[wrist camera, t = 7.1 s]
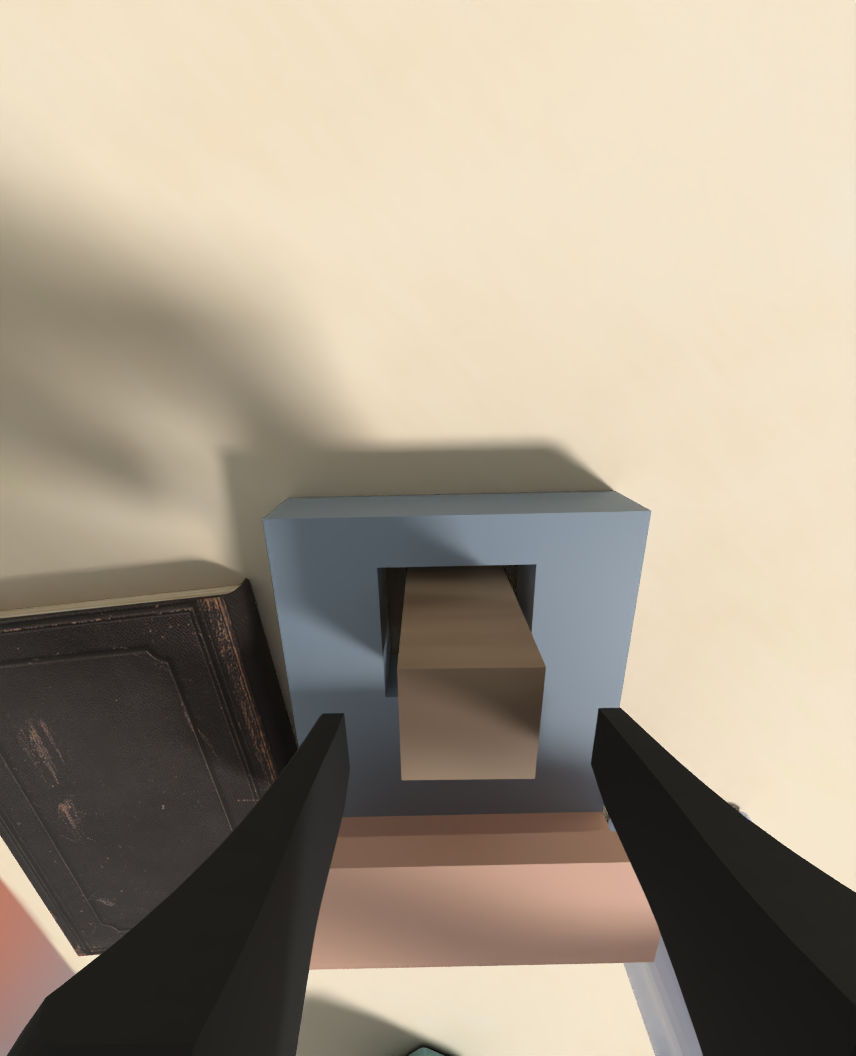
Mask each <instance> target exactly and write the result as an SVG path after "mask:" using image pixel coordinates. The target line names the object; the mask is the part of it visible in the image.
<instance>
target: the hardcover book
mask: <svg viewBox="0 0 856 1056" xmlns="http://www.w3.org/2000/svg"><path fill="white" fill-rule="evenodd" d="M296 751H297V746H296V743H295V739H294V736H293V732H292V729H291V725H290V722H289V718H288V715H287V711H286V708H285V704H284V700H283V697H282V693H281V690H280V686H279V683H278V679H277V676H276V672H275V669H274V665H273V662H272V658H271V655H270V651H269V648H268V644H267V641H266V637H265V634H264V630H263V627H262V623H261V620H260V616H259V612H258V609H257V605H256V602H255V598H254V595H253V591H252V588H251V584H250V581H249V579H245V580H244V581H243V583H242V584H241V585H234V586H224V587H215V588H206V589H197V590H187V591H178V592H169V593H160V594H150V595H141V596H132V597H123V598H113V599H104V600H95V601H86V602H77V603H67V604H58V605H49V606H40V607H31V608H21V609H12V610H3V611H0V836H1V837H2V839H3V840H4V842H5V843H6V845H7V846H8V848H9V850H10V851H11V853H12V854H13V856H14V857H15V859H16V860H17V862H18V863H19V865H20V867H21V868H22V870H23V871H24V873H25V874H26V876H27V877H28V879H29V880H30V882H31V884H32V885H33V887H34V888H35V890H36V891H37V893H38V894H39V896H40V897H41V899H42V901H43V902H44V904H45V905H46V907H47V908H48V910H49V911H50V913H51V914H52V916H53V918H54V919H55V921H56V922H57V924H58V925H59V927H60V928H61V930H62V931H63V933H64V935H65V936H66V938H67V939H68V941H69V942H70V944H71V945H72V947H73V948H74V950H75V952H76V953H77V955H78V956H87V955H99V954H102V953H103V952H104V951H106V950H107V949H108V948H109V947H111V946H112V945H113V944H114V943H115V942H117V941H118V940H119V939H120V938H121V937H123V936H124V935H125V934H126V933H127V932H128V931H130V930H131V929H132V928H133V927H134V926H135V925H136V924H137V923H139V922H140V921H141V920H142V919H143V918H144V917H145V916H146V915H148V914H149V913H150V912H151V911H152V910H153V909H154V908H155V907H157V906H158V905H159V904H160V903H161V902H162V901H163V900H164V899H166V898H167V897H168V896H169V895H170V894H171V893H172V892H173V891H174V890H175V889H176V888H177V887H178V886H180V885H181V884H182V883H183V882H184V881H185V880H186V879H187V878H188V877H189V876H190V875H191V874H192V873H193V872H194V871H195V870H196V869H197V868H198V867H199V866H200V865H201V864H202V863H203V862H204V861H205V860H206V859H207V858H208V857H209V856H210V855H211V854H212V853H213V852H214V851H215V850H216V849H217V848H218V846H219V845H220V844H221V843H222V842H223V841H224V840H225V839H226V838H227V837H228V836H229V835H230V834H231V832H232V831H233V830H234V829H235V828H236V827H237V826H238V825H239V823H240V822H241V821H242V820H243V819H244V818H245V817H246V815H247V814H248V813H249V812H250V811H251V809H252V808H253V807H254V806H255V805H256V803H257V802H258V801H259V800H260V798H261V797H262V796H263V795H264V793H265V792H266V791H267V790H268V789H269V787H270V786H271V785H272V784H273V782H274V781H275V780H276V778H277V777H278V776H279V774H280V773H281V772H282V770H283V769H284V768H285V766H286V765H287V763H288V762H289V761H290V759H291V758H292V757H293V755H294V754H295V752H296Z"/></svg>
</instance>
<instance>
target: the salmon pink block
mask: <svg viewBox="0 0 856 1056" xmlns="http://www.w3.org/2000/svg"><path fill="white" fill-rule="evenodd" d="M660 937H661V934H660V931H659V928H658V925H657V923H656V920H655V918H654V915H653V913H652V910H651V908H650V906H649V903H648V901H647V898H646V896H645V894H644V892H643V890H642V887H641V885H640V883H639V881H638V879H637V876H636V874H635V872H634V870H633V868H632V865H631V863H630V861H629V859H628V857H627V854H626V852H625V850H624V848H623V845H622V843H621V841H620V839H619V837H618V834H617V832H616V831H610V829H609V826H608V824H607V821H606V819H605V817H604V814H603V812H564V813H518V814H472V815H425V816H379V817H342V821H341V825H340V829H339V833H338V837H337V841H336V845H335V850H334V854H333V858H332V862H331V866H330V870H329V874H328V878H327V882H326V886H325V890H324V894H323V898H322V902H321V907H320V911H319V916H318V921H317V926H316V931H315V937H314V943H313V949H312V955H311V961H310V967H309V970H312V969H359V968H405V967H451V966H497V965H544V964H590V963H636V962H654V960H655V956H656V952H657V948H658V944H659V940H660Z"/></svg>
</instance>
